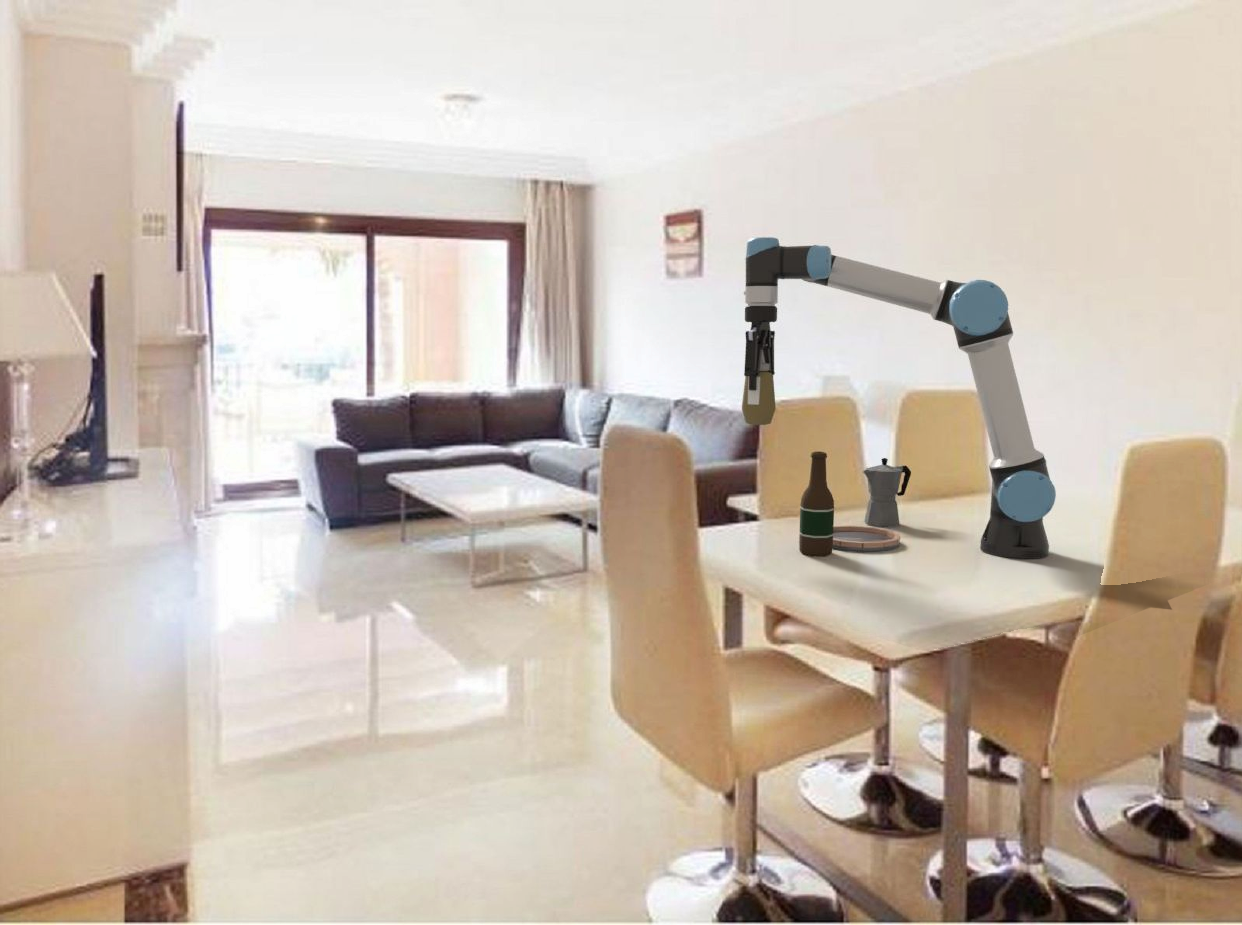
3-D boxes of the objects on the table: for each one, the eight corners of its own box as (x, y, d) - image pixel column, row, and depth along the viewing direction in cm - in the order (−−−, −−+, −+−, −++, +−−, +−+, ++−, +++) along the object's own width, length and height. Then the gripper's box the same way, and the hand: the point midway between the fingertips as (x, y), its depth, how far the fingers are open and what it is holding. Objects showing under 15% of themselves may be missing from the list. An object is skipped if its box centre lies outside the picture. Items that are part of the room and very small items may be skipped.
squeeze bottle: (779, 423, 233) (781, 347, 231) (769, 426, 226) (771, 348, 224) (747, 421, 237) (748, 347, 234) (736, 424, 229) (738, 348, 227)
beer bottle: (812, 558, 223) (816, 455, 220) (792, 551, 230) (795, 451, 227) (839, 554, 227) (843, 453, 223) (818, 548, 234) (821, 449, 230)
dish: (915, 544, 238) (916, 535, 238) (864, 555, 226) (865, 546, 226) (849, 530, 254) (850, 522, 253) (799, 540, 241) (799, 532, 241)
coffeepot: (872, 529, 256) (875, 461, 253) (851, 522, 264) (853, 457, 262) (919, 524, 262) (922, 458, 259) (896, 518, 270) (899, 454, 268)
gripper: (760, 306, 238) (758, 399, 241) (730, 304, 221) (728, 405, 224) (789, 305, 234) (787, 401, 237) (761, 304, 217) (759, 406, 221)
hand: (759, 403), depth 231 cm, fingers closed on squeeze bottle, 6 cm apart
